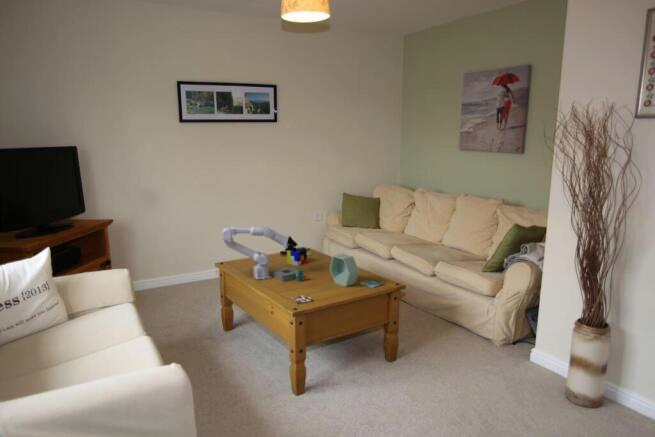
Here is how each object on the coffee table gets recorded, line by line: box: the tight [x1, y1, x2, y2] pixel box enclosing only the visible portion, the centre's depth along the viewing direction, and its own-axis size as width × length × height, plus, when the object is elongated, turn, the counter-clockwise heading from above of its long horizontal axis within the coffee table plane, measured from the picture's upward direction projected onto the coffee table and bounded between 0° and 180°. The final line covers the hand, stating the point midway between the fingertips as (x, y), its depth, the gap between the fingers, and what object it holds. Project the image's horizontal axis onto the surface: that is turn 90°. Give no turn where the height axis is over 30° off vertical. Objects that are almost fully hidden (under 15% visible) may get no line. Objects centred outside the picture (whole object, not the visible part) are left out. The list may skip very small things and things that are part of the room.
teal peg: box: [295, 268, 304, 283], centre depth 298 cm, size 4×4×7 cm
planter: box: [329, 253, 360, 288], centre depth 290 cm, size 17×8×21 cm
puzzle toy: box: [286, 247, 308, 267], centre depth 337 cm, size 10×10×10 cm
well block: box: [272, 266, 298, 283], centre depth 306 cm, size 14×14×4 cm
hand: (296, 248), depth 308 cm, fingers open, 7 cm apart
